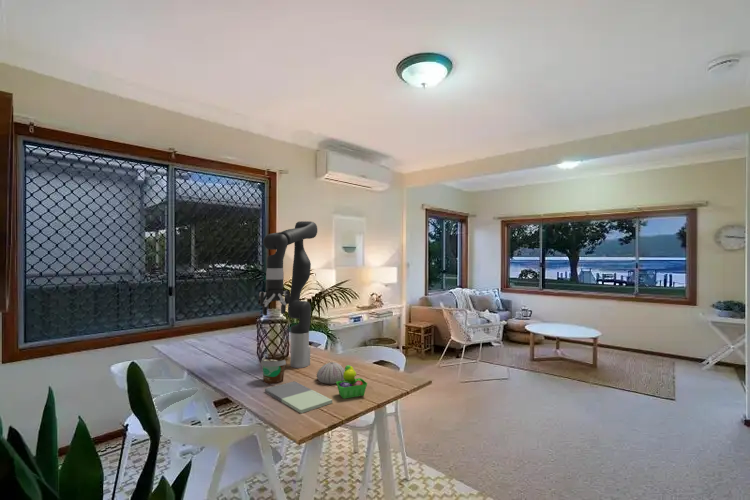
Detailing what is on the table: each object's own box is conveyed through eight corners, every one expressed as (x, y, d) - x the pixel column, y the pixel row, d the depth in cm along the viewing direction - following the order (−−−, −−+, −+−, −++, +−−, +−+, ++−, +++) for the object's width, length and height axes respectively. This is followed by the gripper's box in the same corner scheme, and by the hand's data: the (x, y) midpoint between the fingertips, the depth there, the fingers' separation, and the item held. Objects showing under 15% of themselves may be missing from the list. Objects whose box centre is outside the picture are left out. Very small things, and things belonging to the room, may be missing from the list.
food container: (254, 382, 162) (254, 360, 162) (263, 378, 168) (263, 356, 168) (277, 386, 158) (277, 363, 158) (285, 382, 163) (286, 359, 163)
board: (294, 383, 161) (294, 381, 161) (332, 403, 140) (332, 399, 141) (264, 391, 151) (264, 388, 151) (300, 413, 131) (300, 410, 131)
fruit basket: (341, 400, 143) (341, 371, 143) (334, 392, 151) (334, 365, 151) (367, 396, 148) (368, 368, 148) (360, 389, 156) (360, 362, 156)
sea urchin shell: (346, 385, 160) (346, 367, 160) (315, 386, 159) (315, 367, 159) (346, 375, 173) (346, 358, 173) (317, 376, 172) (317, 359, 172)
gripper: (285, 277, 171) (284, 312, 171) (256, 278, 162) (255, 314, 161) (293, 278, 166) (292, 314, 165) (263, 279, 156) (262, 317, 156)
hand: (274, 314), depth 163 cm, fingers open, 8 cm apart
